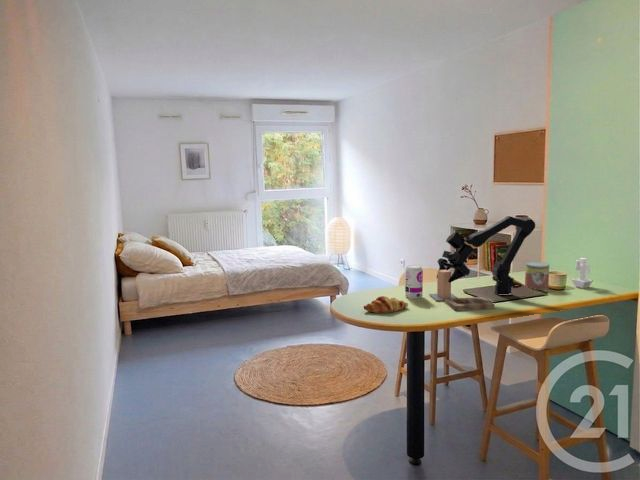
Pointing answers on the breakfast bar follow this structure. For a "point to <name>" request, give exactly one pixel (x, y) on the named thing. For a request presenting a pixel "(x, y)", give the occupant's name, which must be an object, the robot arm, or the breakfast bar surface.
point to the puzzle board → (469, 303)
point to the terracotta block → (443, 283)
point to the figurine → (582, 274)
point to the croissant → (385, 305)
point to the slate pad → (441, 297)
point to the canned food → (537, 275)
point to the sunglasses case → (512, 282)
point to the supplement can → (413, 282)
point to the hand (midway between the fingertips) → (442, 280)
